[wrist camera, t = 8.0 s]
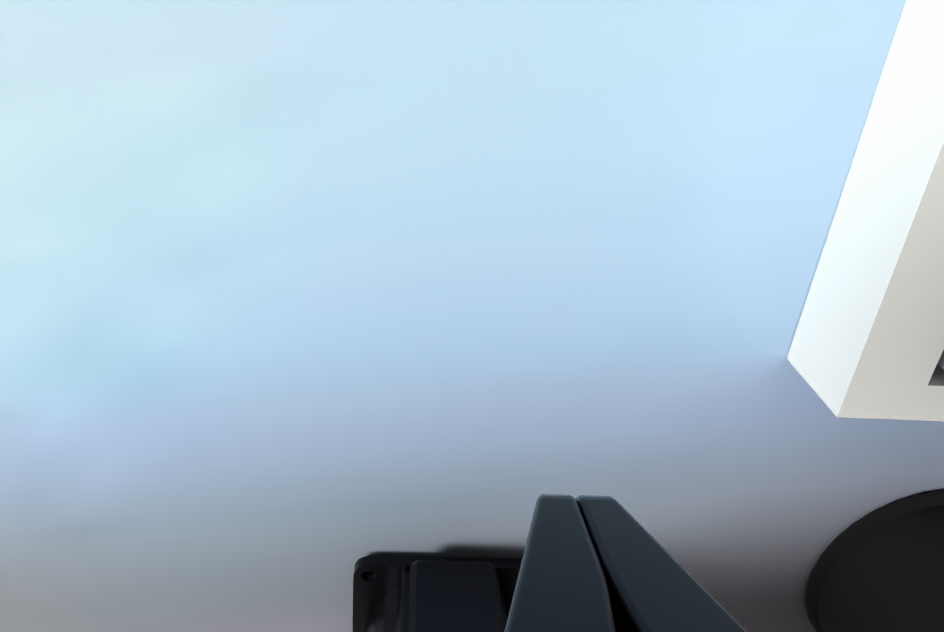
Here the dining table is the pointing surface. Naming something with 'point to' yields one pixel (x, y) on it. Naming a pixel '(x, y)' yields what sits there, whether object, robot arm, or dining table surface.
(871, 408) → the keypad
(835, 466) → the dining table surface
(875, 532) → the aerosol can
